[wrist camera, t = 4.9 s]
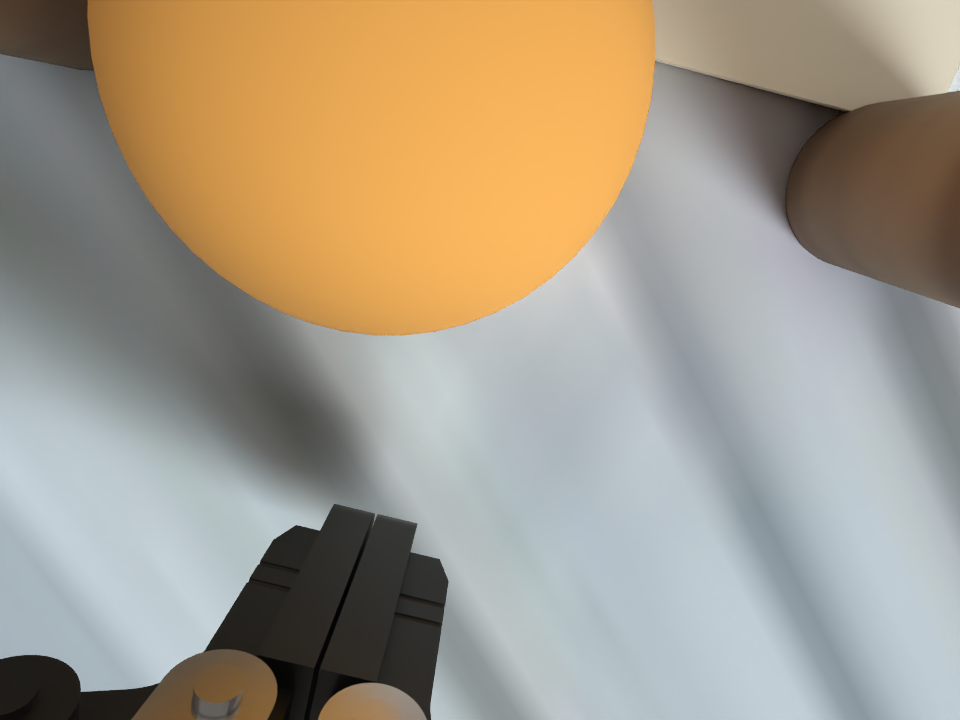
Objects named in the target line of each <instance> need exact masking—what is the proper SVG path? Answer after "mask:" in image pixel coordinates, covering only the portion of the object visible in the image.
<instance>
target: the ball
mask: <svg viewBox="0 0 960 720" xmlns="http://www.w3.org/2000/svg"><path fill="white" fill-rule="evenodd" d="M87 18H88V28H89V38H90V47H91V57H92V62H93V67H94V71H95V76H96V80H97V85H98V89H99V94H100V98H101V101H102V104H103V106H104V109H105V112H106V115H107V118H108V121H109V124H110V127H111V130H112V133H113V135H114V137H115V139H116V142H117V144H118V146H119V148H120V150H121V152H122V154H123V156H124V159H125V161H126V163H127V165H128V167H129V169H130V171H131V172H132V174H133V176H134V177H135V179H136V180H137V182H138V184H139V185H140V187H141V189H142V190H143V192H144V194H145V195H146V197H147V199H148V200H149V201H150V203H151V204H152V205H153V207H154V208H155V209H156V211H157V212H158V213H159V214H160V216H161V217H162V218H163V220H164V221H165V222H166V224H167V225H168V226H169V227H170V229H171V230H172V231H173V232H174V233H175V234H176V235H177V236H178V237H179V238H180V239H181V240H182V241H183V242H184V243H185V244H186V245H187V247H188V248H189V249H190V250H191V251H192V252H193V253H194V254H195V255H196V256H198V257H199V258H200V259H201V260H202V261H204V262H205V263H206V264H207V265H208V266H210V267H211V268H212V269H213V270H214V271H215V272H217V273H218V274H219V275H220V276H222V277H223V278H225V279H226V280H228V281H229V282H231V283H232V284H234V285H235V286H237V287H238V288H240V289H241V290H243V291H244V292H246V293H247V294H249V295H250V296H252V297H254V298H255V299H257V300H259V301H261V302H263V303H265V304H267V305H269V306H271V307H273V308H275V309H277V310H279V311H281V312H283V313H285V314H288V315H291V316H293V317H296V318H299V319H301V320H304V321H307V322H309V323H312V324H316V325H320V326H324V327H328V328H332V329H336V330H340V331H345V332H353V333H361V334H369V335H410V334H419V333H427V332H435V331H439V330H443V329H447V328H451V327H455V326H459V325H463V324H467V323H469V322H472V321H475V320H477V319H480V318H482V317H485V316H488V315H490V314H493V313H495V312H498V311H500V310H501V309H503V308H505V307H507V306H509V305H511V304H513V303H515V302H516V301H518V300H520V299H522V298H524V297H525V296H527V295H528V294H530V293H531V292H532V291H534V290H535V289H537V288H538V287H539V286H541V285H542V284H544V283H545V282H547V281H548V280H549V279H551V278H552V277H553V276H554V275H555V274H556V273H557V272H558V271H559V270H560V269H562V268H563V267H564V266H565V265H566V264H567V263H568V262H569V261H570V260H571V259H572V258H574V257H575V255H576V254H577V253H578V252H579V251H580V249H581V248H582V247H583V246H584V245H585V244H586V242H587V241H588V240H589V239H590V238H591V237H592V235H593V234H594V233H595V232H596V230H597V229H598V227H599V226H600V224H601V223H602V221H603V220H604V218H605V217H606V215H607V214H608V212H609V211H610V209H611V208H612V206H613V205H614V203H615V201H616V199H617V197H618V195H619V193H620V191H621V189H622V187H623V185H624V183H625V181H626V179H627V177H628V175H629V173H630V171H631V168H632V165H633V163H634V160H635V157H636V154H637V151H638V148H639V146H640V143H641V140H642V137H643V134H644V129H645V125H646V120H647V116H648V111H649V107H650V102H651V97H652V88H653V78H654V68H655V16H654V9H653V2H652V0H88V11H87Z"/></svg>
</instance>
